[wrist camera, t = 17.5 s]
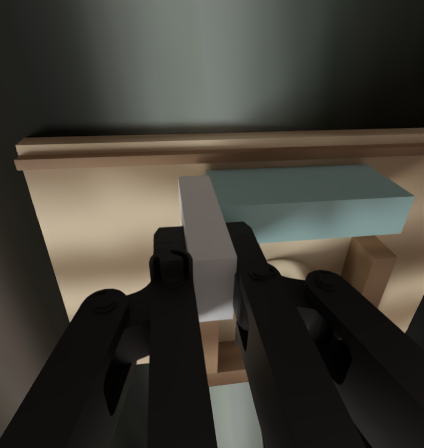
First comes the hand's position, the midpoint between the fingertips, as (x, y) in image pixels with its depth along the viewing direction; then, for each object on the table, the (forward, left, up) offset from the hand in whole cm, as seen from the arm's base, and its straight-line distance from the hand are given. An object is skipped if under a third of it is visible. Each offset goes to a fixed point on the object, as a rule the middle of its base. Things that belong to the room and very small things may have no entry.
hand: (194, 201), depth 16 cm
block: (0, +5, -1) cm, 5 cm away
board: (+6, +5, -3) cm, 8 cm away
